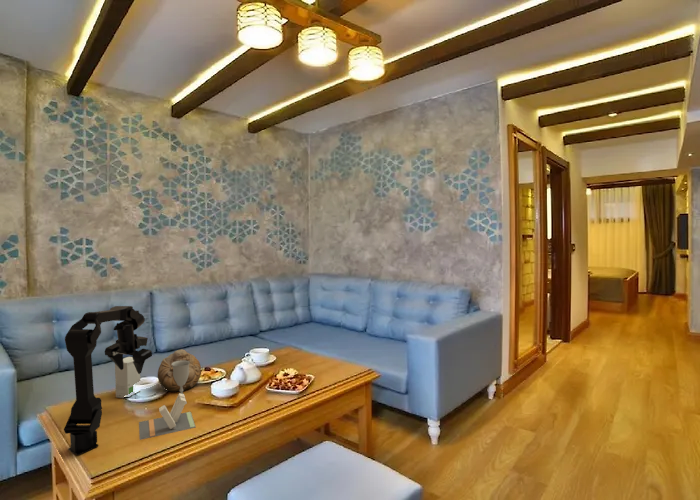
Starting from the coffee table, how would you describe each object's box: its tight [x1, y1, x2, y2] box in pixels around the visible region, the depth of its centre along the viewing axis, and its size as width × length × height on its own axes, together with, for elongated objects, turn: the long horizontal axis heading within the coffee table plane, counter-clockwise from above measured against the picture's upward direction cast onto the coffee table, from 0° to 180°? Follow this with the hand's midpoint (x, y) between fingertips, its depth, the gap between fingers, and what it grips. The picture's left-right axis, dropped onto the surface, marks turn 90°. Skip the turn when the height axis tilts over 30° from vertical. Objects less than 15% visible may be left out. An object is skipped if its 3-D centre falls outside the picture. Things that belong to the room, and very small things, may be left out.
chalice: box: [172, 360, 190, 405], centre depth 163 cm, size 7×7×18 cm
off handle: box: [158, 404, 176, 429], centre depth 143 cm, size 2×3×8 cm, turn 27°
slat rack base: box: [138, 392, 196, 441], centre depth 146 cm, size 18×14×10 cm
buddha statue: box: [157, 349, 202, 393], centre depth 184 cm, size 20×17×17 cm
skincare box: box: [114, 356, 141, 399], centre depth 175 cm, size 8×7×16 cm
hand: (130, 371), depth 162 cm, fingers open, 9 cm apart
